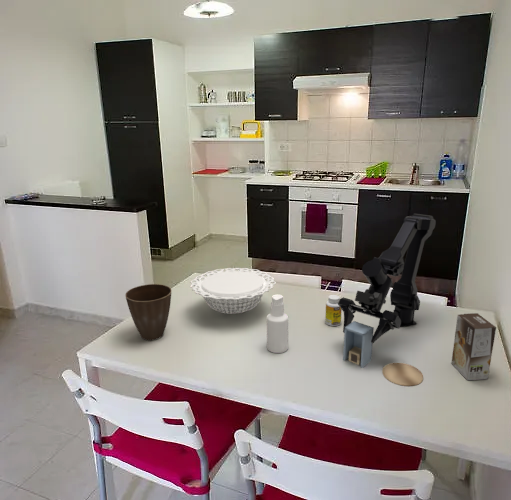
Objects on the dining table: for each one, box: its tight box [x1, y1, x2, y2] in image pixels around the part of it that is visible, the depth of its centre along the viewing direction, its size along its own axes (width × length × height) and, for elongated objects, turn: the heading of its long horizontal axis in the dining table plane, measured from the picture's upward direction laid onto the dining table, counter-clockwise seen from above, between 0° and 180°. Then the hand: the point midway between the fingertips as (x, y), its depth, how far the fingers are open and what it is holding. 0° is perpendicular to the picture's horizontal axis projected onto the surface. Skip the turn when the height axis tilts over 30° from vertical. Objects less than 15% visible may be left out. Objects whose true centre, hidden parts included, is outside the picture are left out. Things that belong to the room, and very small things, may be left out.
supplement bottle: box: [324, 294, 343, 327], centre depth 149 cm, size 6×6×10 cm
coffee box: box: [451, 312, 497, 381], centre depth 119 cm, size 9×6×16 cm
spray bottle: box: [266, 293, 289, 354], centre depth 132 cm, size 7×7×18 cm
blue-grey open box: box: [342, 320, 375, 368], centre depth 126 cm, size 6×6×11 cm
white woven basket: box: [189, 267, 277, 315], centre depth 158 cm, size 32×32×13 cm
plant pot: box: [124, 283, 172, 341], centre depth 142 cm, size 15×15×16 cm
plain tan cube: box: [348, 346, 362, 366], centre depth 127 cm, size 4×4×4 cm
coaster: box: [381, 362, 424, 387], centre depth 120 cm, size 11×11×1 cm
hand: (357, 337), depth 124 cm, fingers open, 9 cm apart
